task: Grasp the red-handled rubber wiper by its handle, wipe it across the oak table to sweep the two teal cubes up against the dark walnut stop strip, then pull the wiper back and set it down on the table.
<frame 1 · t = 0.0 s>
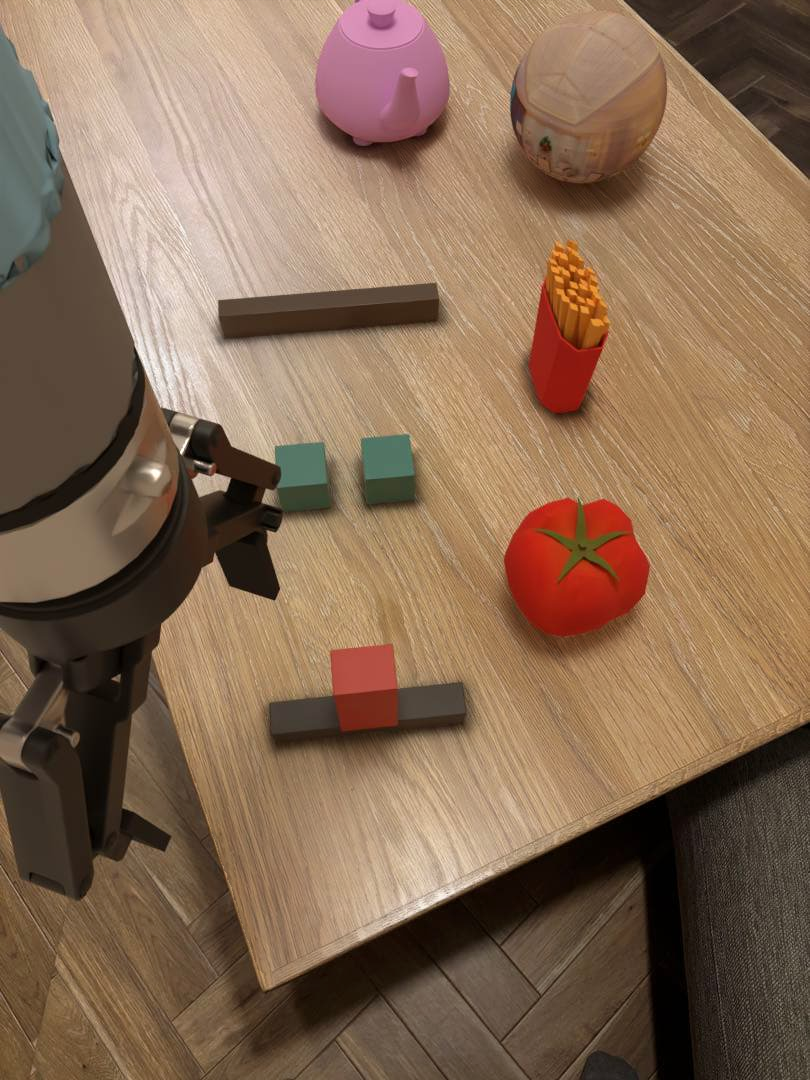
hand: (202, 703, 44), 20 cm above the table, tool pointing down, fingers open, 13 cm apart
teapot: (385, 122, 94), on the table
cube a: (305, 489, 73), on the table
wiper: (368, 717, 64), on the table
tomato: (566, 591, 69), on the table
cube b: (387, 482, 73), on the table
ornament: (572, 166, 91), on the table
stop strip: (331, 321, 81), on the table
french fries: (554, 380, 78), on the table
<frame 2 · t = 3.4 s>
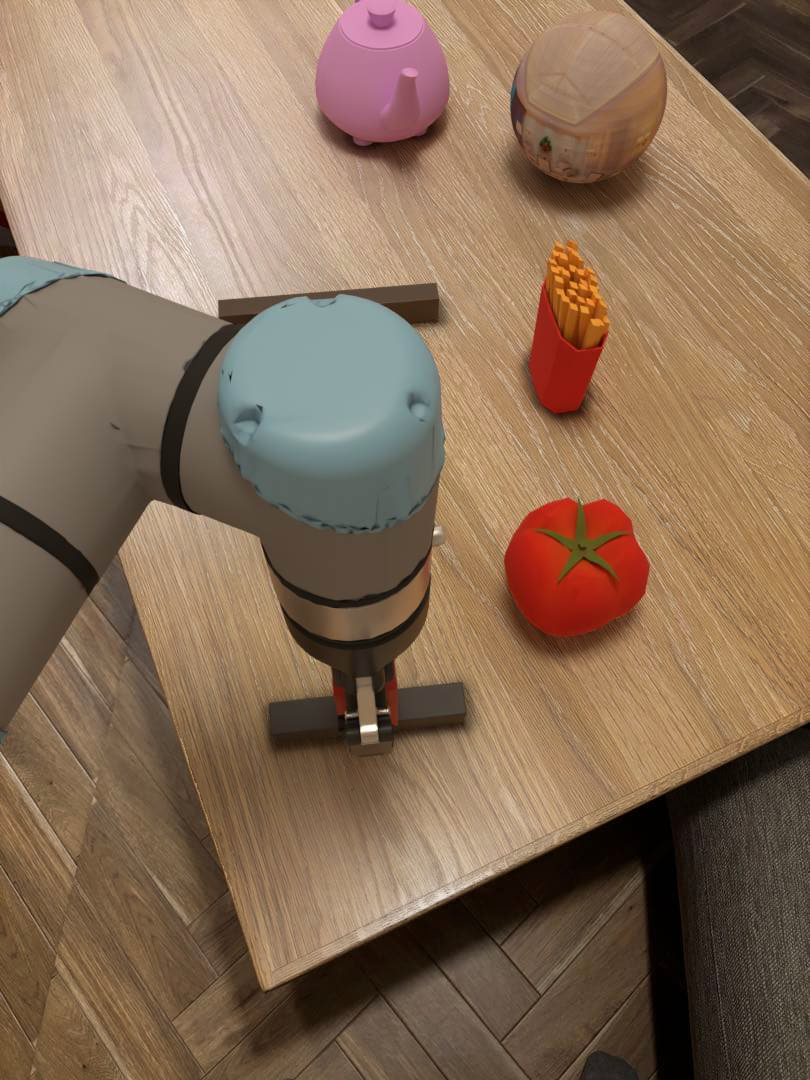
hand: (367, 709, 62), 2 cm above the table, tool pointing down, fingers closed on wiper, 3 cm apart
wiper: (368, 717, 64), on the table, touching gripper
everything else where it was.
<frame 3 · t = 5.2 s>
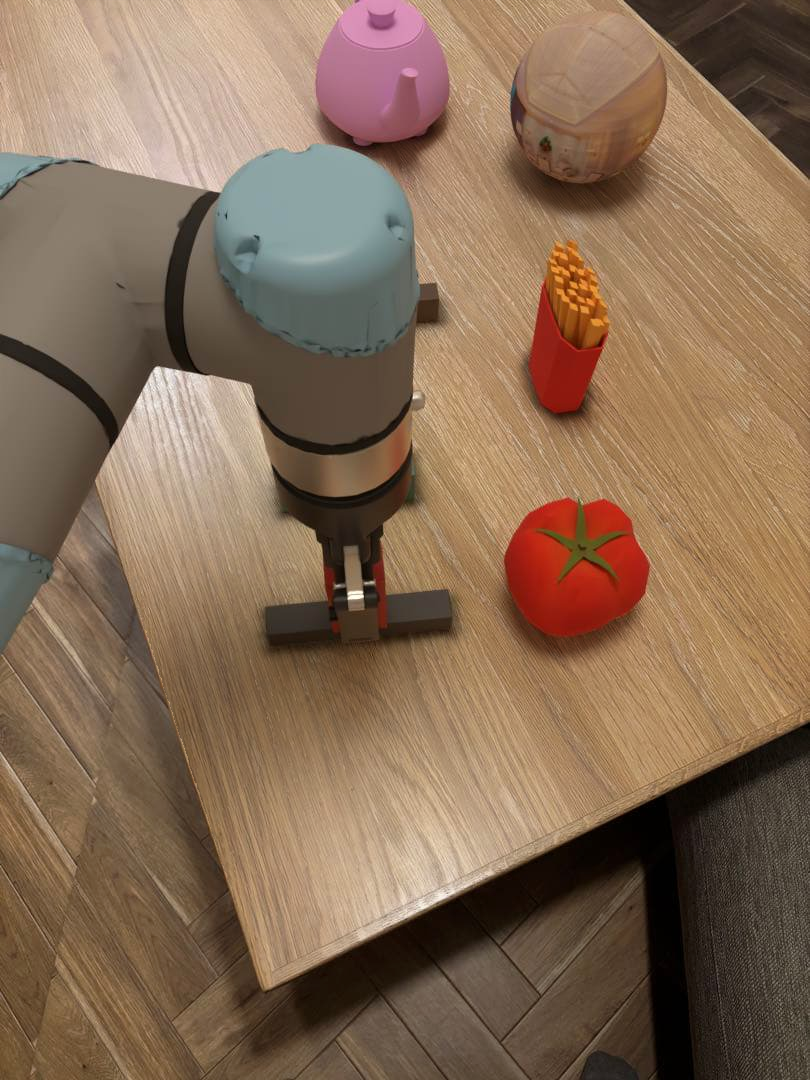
hand: (358, 613, 65), 2 cm above the table, tool pointing down, fingers closed on wiper, 3 cm apart
wiper: (359, 623, 67), on the table, touching gripper
everything else where it was.
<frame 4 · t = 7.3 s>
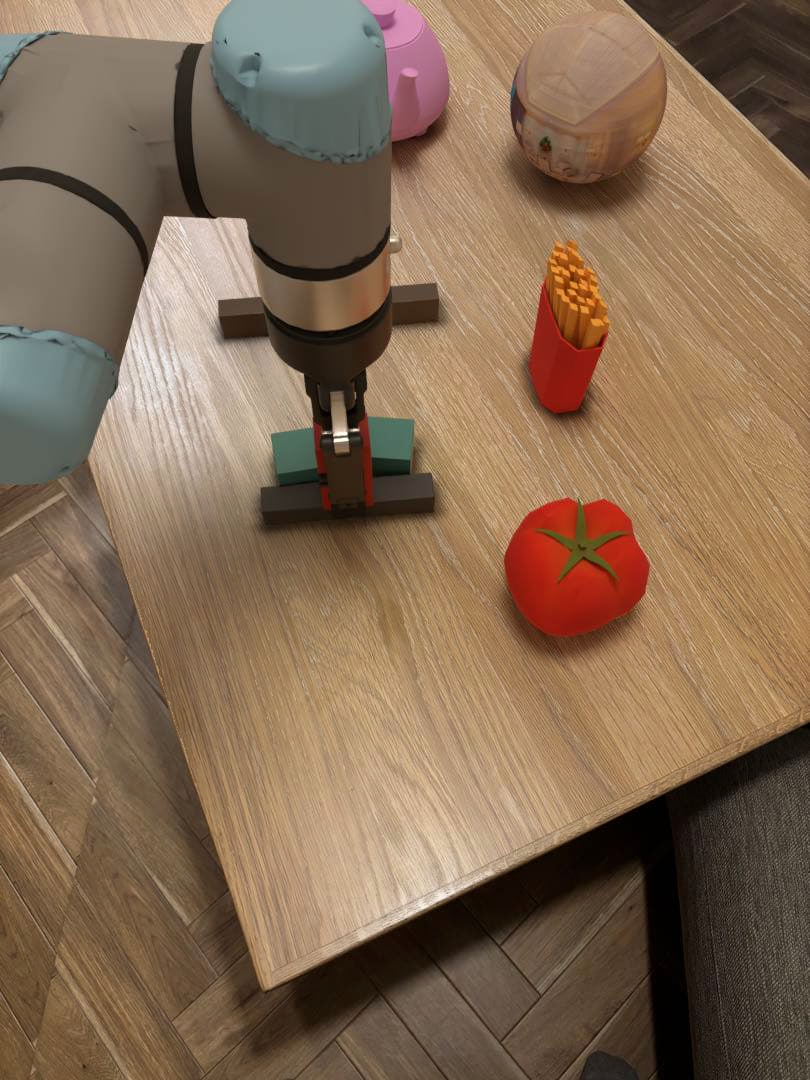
hand: (347, 494, 70), 2 cm above the table, tool pointing down, fingers closed on wiper, 3 cm apart
cube a: (302, 475, 73), on the table
wiper: (349, 506, 72), on the table, touching gripper
cube b: (388, 463, 74), on the table, touching gripper
everything else where it was.
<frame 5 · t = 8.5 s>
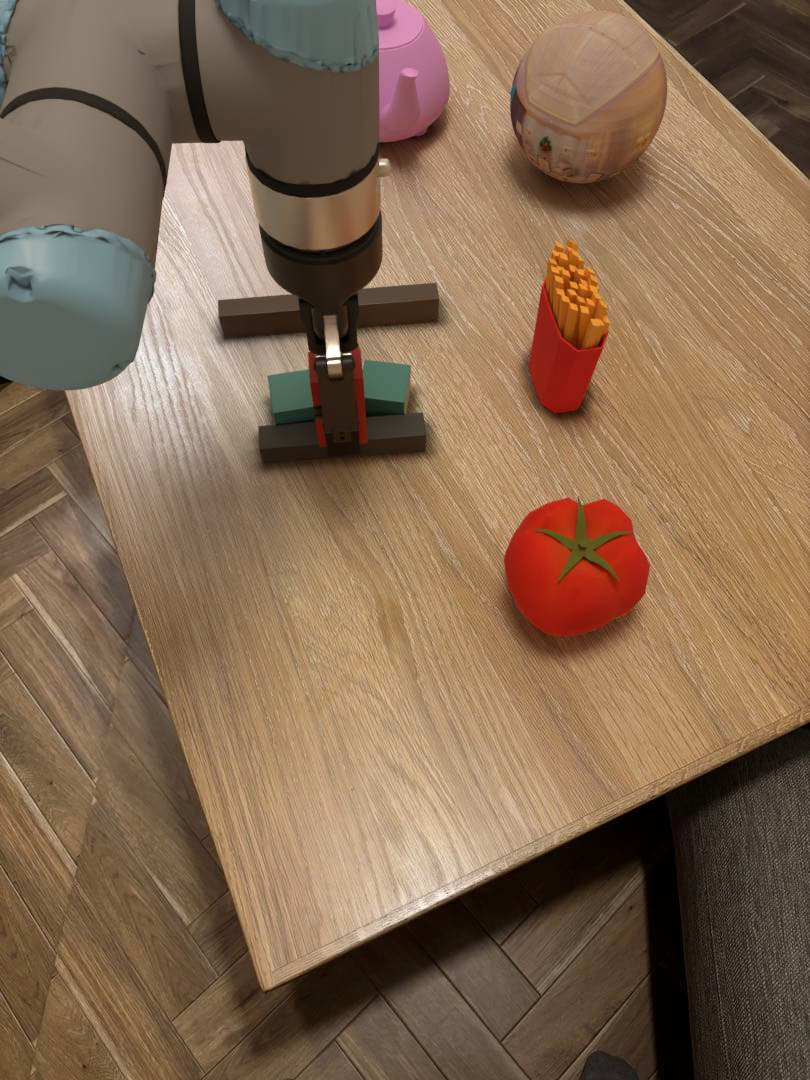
hand: (342, 432, 73), 2 cm above the table, tool pointing down, fingers closed on wiper, 3 cm apart
cube a: (298, 418, 76), on the table
wiper: (343, 446, 75), on the table, touching cube b, gripper
cube b: (384, 408, 77), on the table, touching wiper
everything else where it was.
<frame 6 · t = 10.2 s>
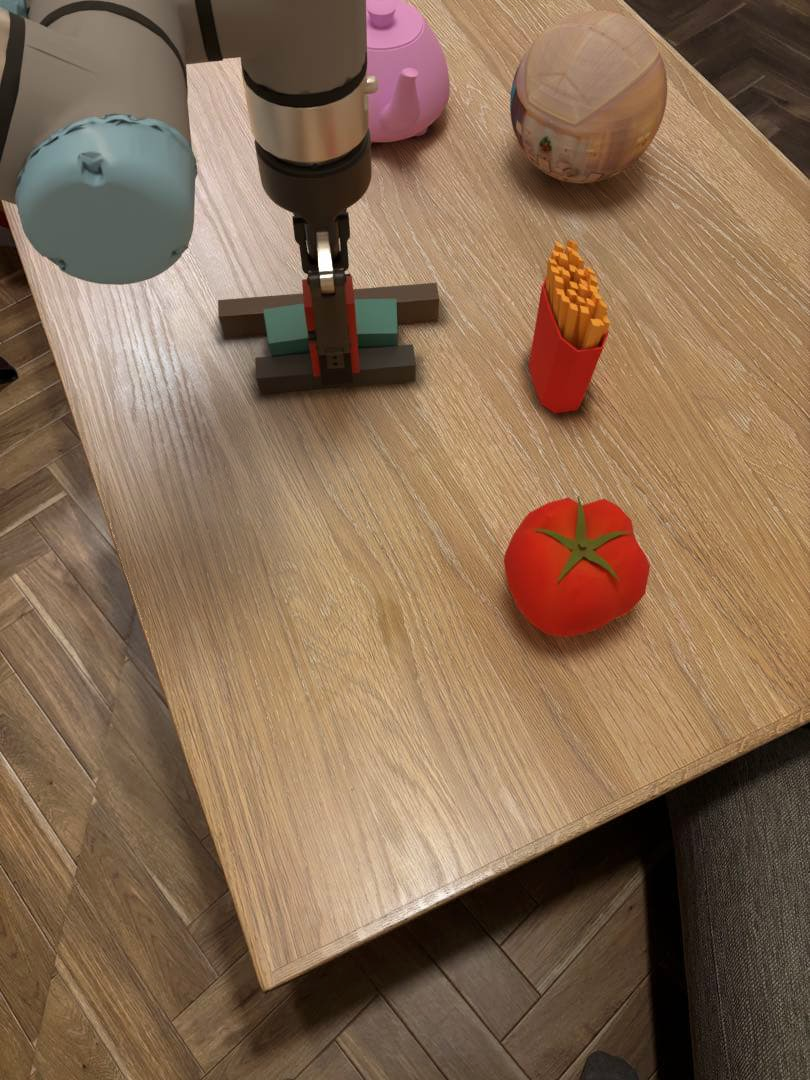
hand: (335, 363, 76), 2 cm above the table, tool pointing down, fingers closed on wiper, 3 cm apart
cube a: (293, 352, 79), on the table, touching wiper
wiper: (337, 378, 78), on the table, touching cube a, cube b, gripper
cube b: (375, 345, 80), on the table, touching wiper
everything else where it was.
when the fingers open (2 cm above the table, at t = 12.4 s): wiper stays where it is, on the table.
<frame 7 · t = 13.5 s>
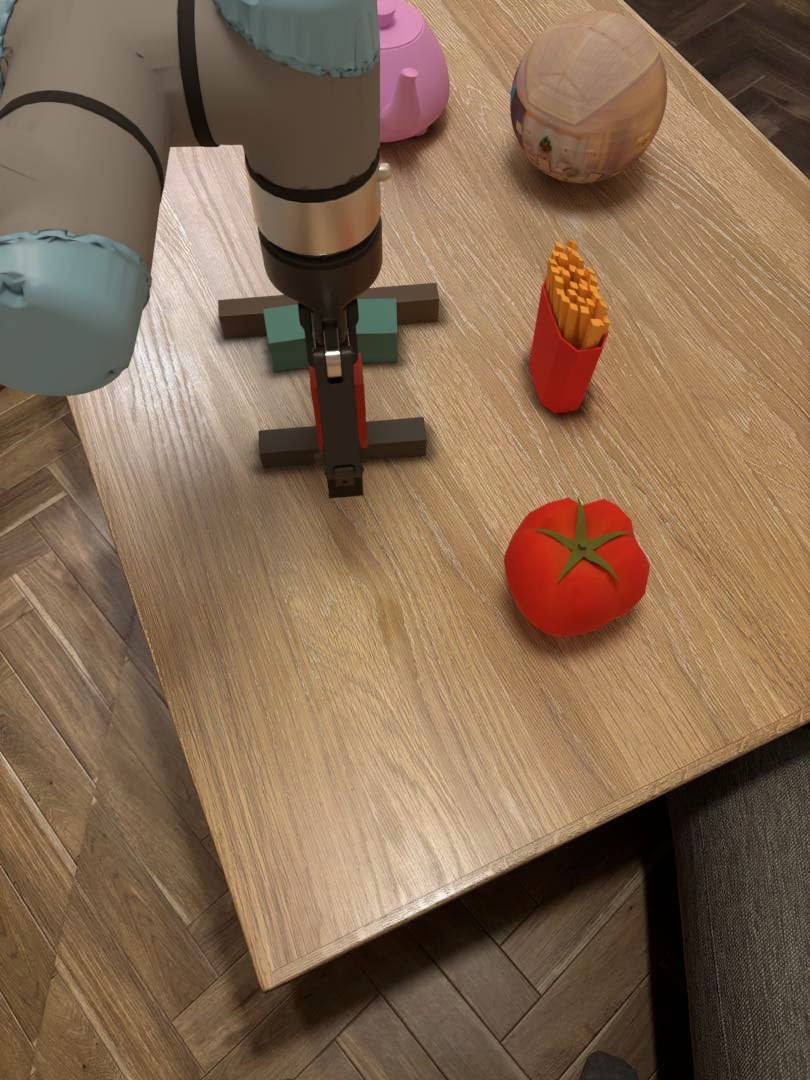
hand: (339, 421, 71), 4 cm above the table, tool pointing down, fingers open, 13 cm apart
cube a: (293, 352, 79), on the table
wiper: (343, 450, 75), on the table
cube b: (375, 345, 80), on the table
everything else where it was.
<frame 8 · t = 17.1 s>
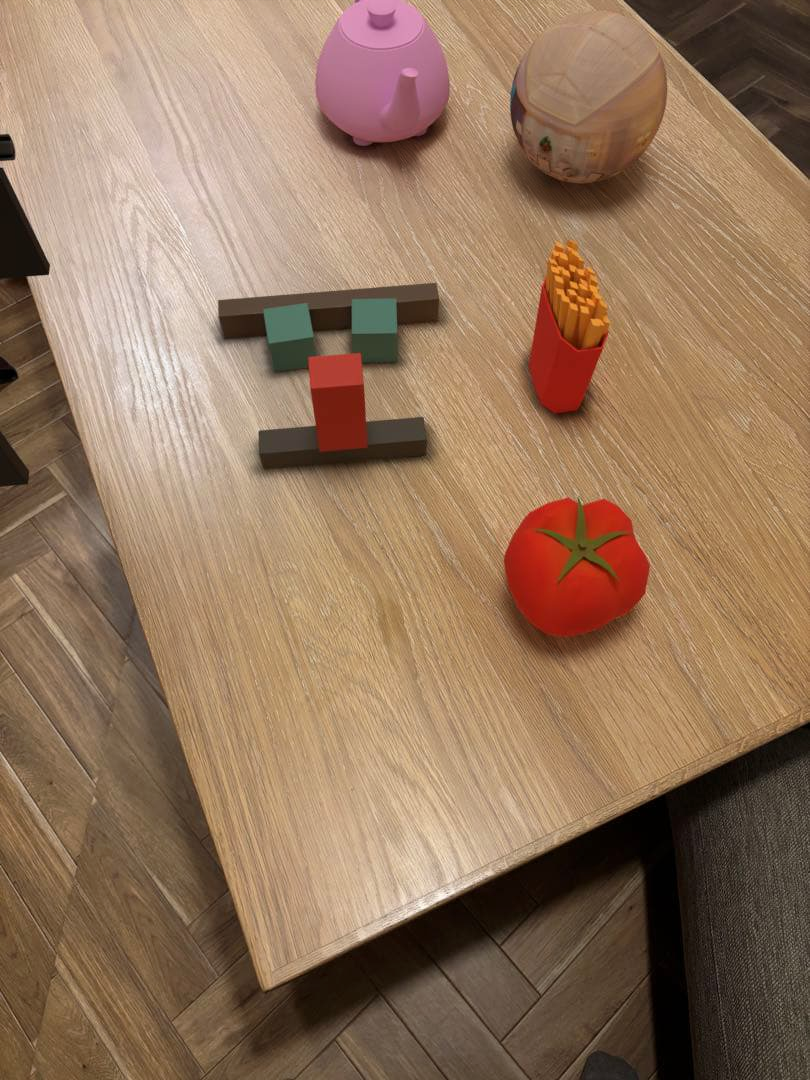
hand: (13, 369, 45), 27 cm above the table, tool pointing down, fingers open, 13 cm apart
nothing on the table moved.
at the end: cube a inside the target area on the table beside the stop strip (3.2 cm from its centre), on the table; cube b inside the target area on the table beside the stop strip (4.4 cm from its centre), on the table; the gripper is holding nothing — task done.
